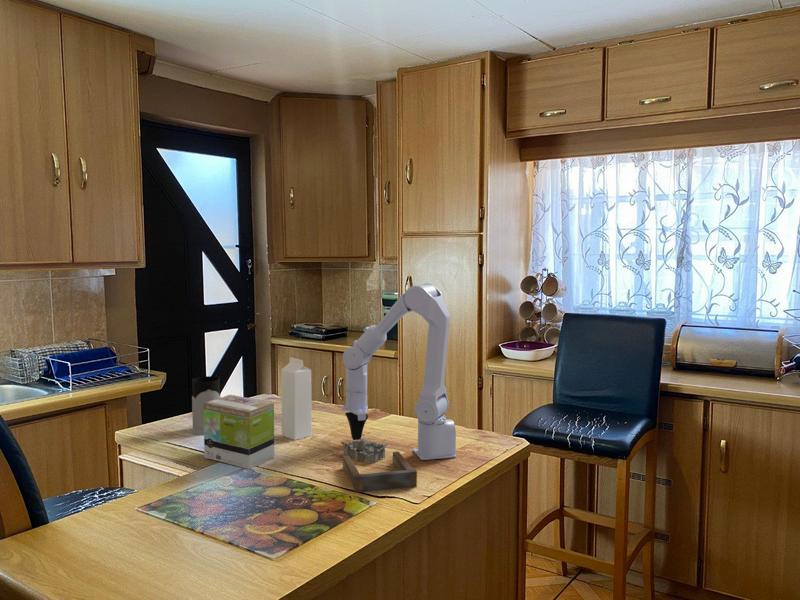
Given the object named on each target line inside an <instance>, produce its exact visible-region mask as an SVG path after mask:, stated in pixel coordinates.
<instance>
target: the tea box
mask: <svg viewBox="0 0 800 600" xmlns="http://www.w3.org/2000/svg"><path fill="white" fill-rule="evenodd" d="M203 405H204V409H203V411H204V435H203V437H204V438H203V443H204V444H203V445H204V448H203V449H204V458H205V459H208V460H212V461H218V462H222V463H225V464H229V465H232V466H236V467H240V468H243V469H246V470H250V469H252V468H254V467H257V466H259V465H262V464H263V463H265V462H267V461H269V459H270V460H271V459H273V458H275V402H272V401H267V400H261V399H257V398H256V399H255V398H249V397H244V396H241V395H240V396H239V395H235V394H234V395H233V394H228V395H225V396H222V397H221V398H219V399H215V400H212V401H209V402H206V403H203Z"/></svg>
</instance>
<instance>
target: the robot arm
mask: <svg viewBox="0 0 800 600" xmlns="http://www.w3.org/2000/svg"><path fill="white" fill-rule="evenodd" d="M386 312H387V313H385V315H384V316H383V317H382V319H381V320H380V321H379V322H378V323H377V325H375V324H373V325H370V326H366V327H365V328H364V329H363V330H362V331H363V333H362V334H361V336H360V337H359V338H358V339H356V340H354V341H353V342H352V344H353V346H350V347H346V348H345V350H344V351H343V354H342V356H341V357H342V359H341V360H342V362H343V365H344V366H345V405H341V410H342V411H346V412H345V413H344V415H345V417H346V419H347V420H348V421H347V422H348V425H349V429H350V434H351V438H352V440H353V441H356V440H359V439H362V436H363V431H364V427H365V424H366V423H367V420H368V419H369V415H368V414H367V412H368V409H369V406H368V365H369V363H370V362H371V361H372V356H374V355H375V353H376V352H377V351H378V350H379V349H380V348H381V347H382V346H383V345H384V344H385V342H386V341H387V337H388V336H387V333H388V332H389V331H391V330H392V328H394V326H395V325H396V324H397V323H399V321H400V320H401V319H402V318H403V317H404V316H405V315H406V314H407V313H411V312H414V313H416V314H417V315H420V316H421V317H422V318H423V319H424V320H425V321H426V323H427V324H428V331H427V333H428V334H427V342H426V357H425V366H424V375H423V377H424V379H423V385H422V387H421V390H420V393H419V398H418V401H417V402H416V404H415V406H414V414H415V417H416V418H417V447H415V448H412V451H413V452H414V454H415V455H416V456H417V457H418V458H419V459H420V460H421V461H425V460H426V461H427V460H436V459H437V460H439V459H451V458H457V454H456V452H457V451H456V448H457V447H456V444H457V443H456V440H457V432H456V431H457V430H456V424H455V422H454V421H453V419H447V417H446V413H447V412H448V410H449V408H450V402H449V398H448V388H447V387H446V386H445V377H446V370H447V369H446V368H447V367H446V366H447V358H448V357H447V356H448V345H449V337H450V335H449V334H450V324H451V323H450V322H451V315H450V312H449V311H448V308H447V306H446V303H445V301H444V296H443V293H442V292H441V291H440V290H439V289H438V287H437V286H436V285H433V284H432V283H423V284H420V285H412V286H410V287H408V288H407V289H406V291H405V292H404V293H403V294H401V295H400V296H399V297H398V299H397V300H396V301H395V302H394V304H393V305H392V306H391V307H390V309H389V310H388V311H386Z"/></svg>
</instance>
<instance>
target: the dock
mask: <svg viewBox="0 0 800 600" xmlns="http://www.w3.org/2000/svg"><path fill="white" fill-rule="evenodd" d="M351 458H352V457H350V456H344V455H342V469H343V471H344V473H345V475H346V477H347V479H348V481H349V483H350V484H351V487H352V488H353V490H354V492H355V493H366V492H367V493H369V492H377V491H387V490H398V489H406V488H417V486H418V483H417V482H418V471H417V470H416V469H415V468H413V467H412V465H410V463H409V462H408V461H407V459H406V458H405V457H404V456H403V455H402V454H401V453H400V452H399V451H392V465H393V466H394V467H395V469H396V470H392V471H383V472H371V473H370V472H369V473H360V472H359V470H358V469H357V467H356V466H355V464H354V462H353V460H352V459H351Z"/></svg>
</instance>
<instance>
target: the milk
mask: <svg viewBox="0 0 800 600" xmlns="http://www.w3.org/2000/svg"><path fill="white" fill-rule="evenodd" d="M280 374H281V381H280V382H281V383H280V384H281V385H280V387H281V436H282V437H284V436H285V438H287V439H290V440H293V441H297V439H298V440H301V439H305V438H308V437H311V436H313V435H312V369H310V368H308V367H306V366H305V365H304V360H303V359H299V358H295V357H289V363H287V364H286V365H285V366H284V367H283V368H282V369H281V373H280ZM310 435H311V436H310ZM307 436H308V437H307ZM304 437H305V438H304Z"/></svg>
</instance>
